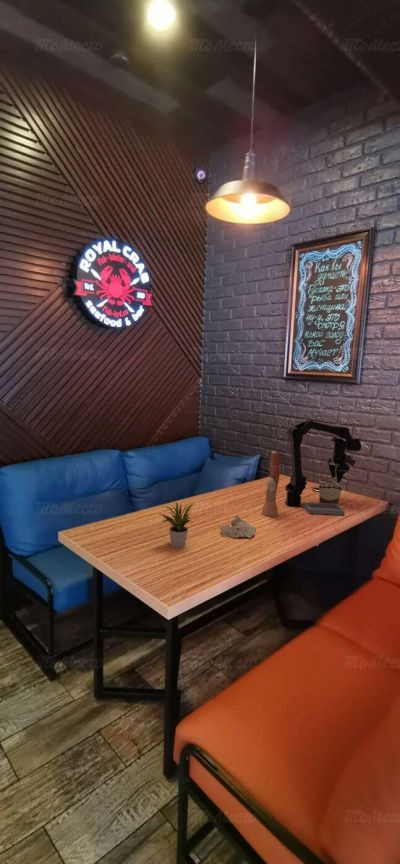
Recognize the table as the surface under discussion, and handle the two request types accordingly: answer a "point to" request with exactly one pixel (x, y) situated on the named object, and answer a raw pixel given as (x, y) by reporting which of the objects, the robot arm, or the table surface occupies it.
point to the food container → (329, 493)
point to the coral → (237, 529)
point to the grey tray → (323, 509)
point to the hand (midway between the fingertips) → (335, 480)
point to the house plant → (178, 525)
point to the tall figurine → (272, 486)
